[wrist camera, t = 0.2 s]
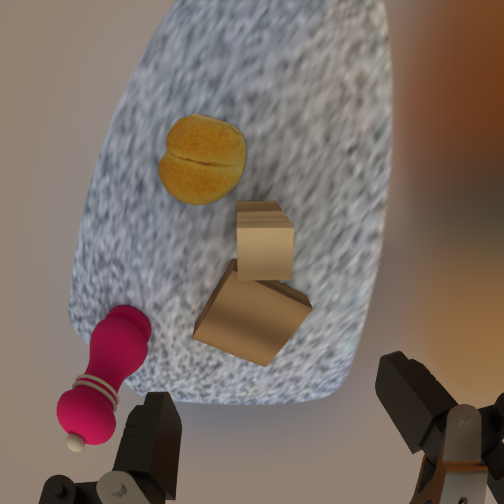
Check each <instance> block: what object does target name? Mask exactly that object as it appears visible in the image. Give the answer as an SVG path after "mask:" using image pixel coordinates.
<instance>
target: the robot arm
mask: <svg viewBox="0 0 504 504" xmlns="http://www.w3.org/2000/svg"><path fill="white" fill-rule="evenodd" d="M375 390H376V394H377V396H378V398H379V400H380V401H381V403H382V405H383V406H384V408H385V409H386V411H387V413H388V414H389V416H390V417H391V419H392V421H393V422H394V424H395V426H396V427H397V429H398V430H399V432H400V434H401V436H402V437H403V439H404V440H405V442H406V444H407V445H408V447H409V449H410V450H411V452H412V454H414V453H416V452H418V451H420V450H423V451H424V453H425V454H424V456H423V460H422V464H421V469H420V473H419V477H418V481H417V484H416V488H415V491H414V495H413V497H412V500H411V501H410V503H409V504H484V500H485V494H486V486H487V485H488V487H489V488H490V490H491V492H492V494H493V496H494V498H495V500H496V501H497V503H498V504H504V443H503V442H502V440H503V439H504V393H502V394H501V395H500V396H499V397H498V398H497V400H496V402H495V404H494V405H491V406H487V407H483V408H480V409H476V408H475V407H473V406H471V405H468V404H461V405H459V404H458V403H457V402H456V401H455V400H454V399H453V398H452V396H451V395H450V394H449V393H448V392H447V391H446V389H445V388H444V387H443V386H442V385H441V384H440V383H439V382H438V381H436V378H435V377H434V376H433V375H432V374H430V371H429V370H428V369H427V368H426V367H425V366H424V365H423V364H421V363H420V362H417V361H416V360H414V359H410V360H408V358H407V357H406V356H405V355H404V354H403V353H402V352H401V351H396V352H393V353H390V354H387V355H384V356H382V357H381V358H380V362H379V368H378V373H377V378H376V383H375ZM181 434H182V424H181V419H180V416H179V414H178V412H177V410H176V407H175V405H174V403H173V401H172V398H171V396H170V394H169V393H168V392H148V393H147V395H146V398H145V401H144V405H137V406H136V407H135V408H134V409H133V410H132V411H131V413H130V414H129V416H128V419H127V422H126V428H124V432H123V436H122V438H121V442H120V445H119V449H118V452H117V456H116V460H115V463H114V467H113V469H112V471H111V472H108V473H106V474H104V475H103V476H102V477H101V478H100V479H99V480H98V481H96V482H85V483H74V482H73V481H72V480H71V479H69V478H68V477H66V476H64V475H55V476H52V477H50V478H49V479H48V480H47V481H46V482H45V484H44V487H43V490H42V494H41V497H40V501H39V504H165V500H175V497H176V485H177V474H178V473H177V472H178V462H179V452H180V442H181Z"/></svg>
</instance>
